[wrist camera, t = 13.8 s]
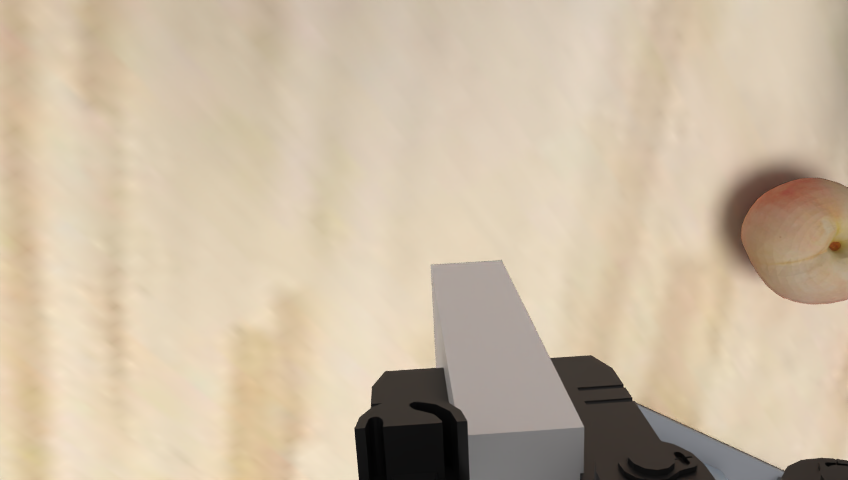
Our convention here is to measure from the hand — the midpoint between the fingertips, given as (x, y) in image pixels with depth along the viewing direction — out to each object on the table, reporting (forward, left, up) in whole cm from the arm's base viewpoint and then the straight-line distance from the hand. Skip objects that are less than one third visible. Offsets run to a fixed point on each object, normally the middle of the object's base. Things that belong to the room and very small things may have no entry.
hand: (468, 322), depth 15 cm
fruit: (-25, +8, -33) cm, 42 cm away
